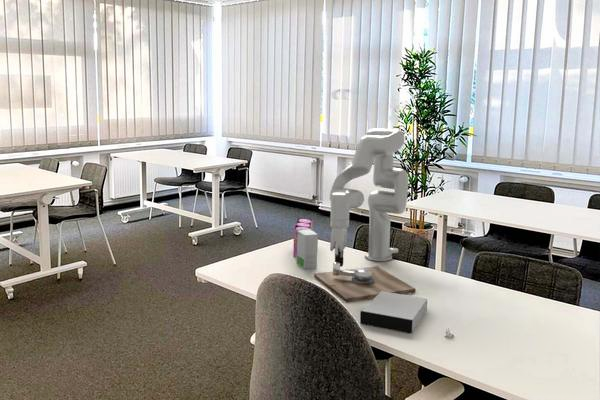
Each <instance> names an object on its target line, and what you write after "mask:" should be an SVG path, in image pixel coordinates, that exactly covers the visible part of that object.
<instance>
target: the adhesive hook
mask: <svg viewBox="0 0 600 400" xmlns="http://www.w3.org/2000/svg"><path fill="white" fill-rule="evenodd" d="M444 337H445V338H446V337H448V338H453V337H455V334H454V333H453V332H452V330H451V328H450V327H447V328H446V330H445V334H444Z"/></svg>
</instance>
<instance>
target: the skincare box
mask: <svg viewBox="0 0 600 400" xmlns="http://www.w3.org/2000/svg"><path fill="white" fill-rule="evenodd" d="M318 241H319V234H318V233H316V232H315V231H314V230H313V229H312V230H310V229H309V230H300V231H298V240H297V257H296V265H298V266H299V267H300V268H301V269H303V270H308V269H315V268H317V262H318V243H319V242H318Z"/></svg>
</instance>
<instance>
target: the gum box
mask: <svg viewBox="0 0 600 400" xmlns="http://www.w3.org/2000/svg"><path fill="white" fill-rule="evenodd" d="M313 224H314V223H313V218H311V217H310V218H309V219H304V218H303V219H301V218H300V217H298V218H297V219H296V223H295V225H294V227H293V250H292V251H293V254H292V255H293V256H292V257H293V258H297V240H298V231H300V230H309V229H310V230H312V231H313V230H314V229H313Z"/></svg>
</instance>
